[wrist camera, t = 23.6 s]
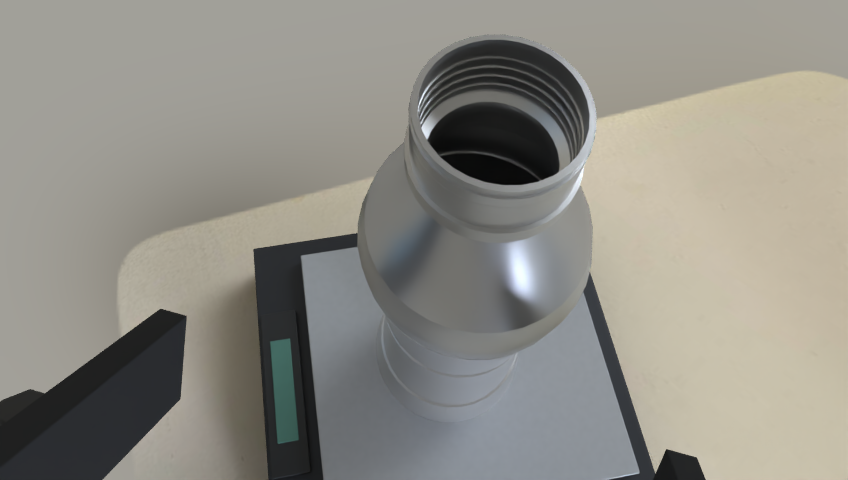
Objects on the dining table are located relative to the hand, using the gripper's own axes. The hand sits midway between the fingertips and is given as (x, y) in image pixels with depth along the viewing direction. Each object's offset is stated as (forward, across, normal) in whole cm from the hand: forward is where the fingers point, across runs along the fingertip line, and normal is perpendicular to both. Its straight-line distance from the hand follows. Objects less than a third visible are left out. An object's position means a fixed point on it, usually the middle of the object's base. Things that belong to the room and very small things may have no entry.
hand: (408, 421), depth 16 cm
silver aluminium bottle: (+13, 0, +6) cm, 14 cm away
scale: (+15, 0, +8) cm, 17 cm away
